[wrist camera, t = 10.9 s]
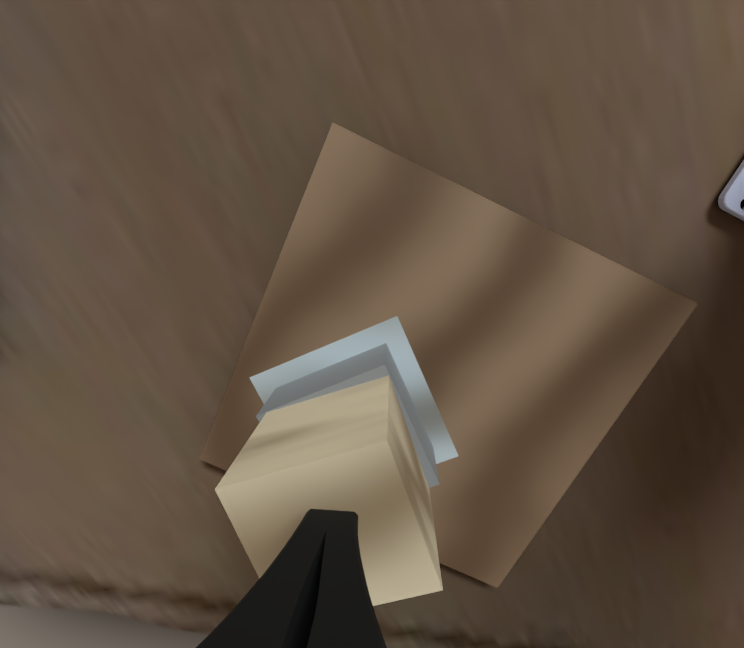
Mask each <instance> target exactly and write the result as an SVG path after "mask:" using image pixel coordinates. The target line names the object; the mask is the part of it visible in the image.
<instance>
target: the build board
mask: <svg viewBox="0 0 744 648" xmlns="http://www.w3.org/2000/svg"><path fill="white" fill-rule="evenodd" d="M697 305H698V303H696V302H694V301H692V300H690V299H688V298H686V297H684V296H682V295H680V294H678V293H676V292H674V291H672V290H670V289H668V288H666V287H664V286H662V285H660V284H658V283H656V282H654V281H652V280H650V279H648V278H646V277H644V276H642V275H640V274H638V273H636V272H634V271H632V270H629V269H627V268H625V267H623V266H621V265H619V264H617V263H615V262H613V261H611V260H609V259H607V258H605V257H603V256H601V255H599V254H597V253H595V252H593V251H591V250H589V249H587V248H585V247H583V246H581V245H579V244H577V243H575V242H573V241H571V240H569V239H567V238H565V237H563V236H561V235H559V234H557V233H555V232H553V231H551V230H549V229H547V228H545V227H543V226H541V225H539V224H537V223H535V222H533V221H531V220H529V219H527V218H525V217H522V216H520V215H518V214H516V213H514V212H512V211H510V210H508V209H506V208H504V207H502V206H500V205H498V204H496V203H494V202H492V201H490V200H488V199H486V198H484V197H482V196H480V195H478V194H476V193H474V192H472V191H470V190H468V189H466V188H464V187H462V186H460V185H458V184H456V183H454V182H452V181H450V180H448V179H446V178H444V177H442V176H440V175H438V174H436V173H434V172H432V171H430V170H428V169H426V168H424V167H422V166H420V165H418V164H415V163H413V162H411V161H409V160H407V159H405V158H403V157H401V156H399V155H397V154H395V153H393V152H391V151H389V150H387V149H385V148H383V147H381V146H379V145H377V144H375V143H373V142H371V141H369V140H367V139H365V138H363V137H361V136H359V135H357V134H355V133H353V132H351V131H349V130H347V129H345V128H343V127H341V126H339V125H337V124H335V123H332V126H331V128H330V131H329V133H328V136H327V138H326V141H325V143H324V146H323V148H322V151H321V153H320V156H319V158H318V161H317V163H316V166H315V168H314V171H313V173H312V176H311V178H310V181H309V183H308V186H307V188H306V191H305V193H304V196H303V198H302V201H301V203H300V206H299V208H298V211H297V213H296V216H295V218H294V221H293V223H292V226H291V228H290V231H289V233H288V236H287V238H286V241H285V243H284V246H283V248H282V251H281V253H280V256H279V258H278V261H277V263H276V266H275V269H274V271H273V274H272V276H271V279H270V281H269V284H268V286H267V289H266V291H265V294H264V296H263V299H262V301H261V304H260V306H259V309H258V311H257V314H256V316H255V319H254V321H253V324H252V326H251V329H250V331H249V334H248V336H247V339H246V341H245V344H244V346H243V349H242V351H241V354H240V356H239V359H238V361H237V364H236V366H235V369H234V371H233V374H232V376H231V379H230V381H229V384H228V386H227V389H226V391H225V394H224V396H223V399H222V401H221V404H220V406H219V409H218V411H217V414H216V417H215V419H214V422H213V424H212V427H211V429H210V432H209V434H208V437H207V439H206V442H205V444H204V447H203V449H202V452H201V454H200V457H199V459H200V460H202V461H204V462H207V463H209V464H211V465H214V466H216V467H218V468H221V469H223V470H225V471H227V470H228V469H229V467H230V466H231V464H232V463H233V462H234V460H235V459H236V457H237V456H238V454H239V453H240V451H241V450H242V448H243V447H244V445H245V444H246V442H247V441H248V439H249V438H250V436H251V435H252V433H253V432H254V430H255V429H256V427H257V426H258V424H259V421H258V419H257V417H256V415H257V414H258V412H259V411H260V410H261V408H262V407H263V405H264V404H265V403H266V401H267V400H268V398H269V397H270V396H271V394H272V393H273V391H274V390H275V389H276V388H277V387H279V386H282V385H284V384H287V383H289V382H292V381H294V380H296V379H299V378H301V377H304V376H306V375H309V374H311V373H314V372H316V371H318V370H321V369H323V368H326V367H328V366H331V365H333V364H336V363H338V362H340V361H343V360H345V359H348V358H350V357H353V356H355V355H358V354H360V353H363V352H365V351H367V350H370V349H372V348H375V347H377V346H380V345H382V344H385V343H386V344H387V346H388V348H389V350H390V353H391V355H392V357H393V359H394V361H395V364H396V366H397V368H398V370H399V372H400V375H401V377H402V379H403V381H404V384H405V386H406V388H407V390H408V392H409V395H410V397H411V399H412V401H413V403H414V406H415V408H416V410H417V412H418V414H419V417H420V419H421V421H422V423H423V425H424V428H425V430H426V432H427V434H428V437H429V439H430V441H431V443H432V445H433V449H434V455H435V460H436V466H437V472H438V477H439V483H440V484H439V485H436V486H433V487H430V488H429V491H430V498H431V506H432V513H433V521H434V528H435V535H436V543H437V550H438V558H439V563H441V564H443V565H445V566H448V567H450V568H452V569H455V570H457V571H459V572H462V573H464V574H466V575H469V576H471V577H473V578H475V579H478V580H480V581H482V582H485V583H487V584H489V585H492V586H494V587H496V588H498V587H499V585H500V584H501V582H502V581H503V580H504V578H505V577H506V575H507V574H508V572H509V571H510V570H511V568H512V567H513V565H514V564H515V563H516V561H517V560H518V558H519V557H520V555H521V554H522V553H523V551H524V550H525V548H526V547H527V545H528V544H529V543H530V541H531V540H532V538H533V537H534V536H535V534H536V533H537V531H538V530H539V528H540V527H541V526H542V524H543V523H544V521H545V520H546V519H547V517H548V516H549V514H550V513H551V511H552V510H553V509H554V507H555V506H556V504H557V503H558V502H559V500H560V499H561V497H562V496H563V494H564V493H565V492H566V490H567V489H568V487H569V486H570V485H571V483H572V482H573V480H574V479H575V477H576V476H577V475H578V473H579V472H580V470H581V469H582V468H583V466H584V465H585V463H586V462H587V460H588V459H589V458H590V456H591V455H592V453H593V452H594V451H595V449H596V448H597V446H598V445H599V443H600V442H601V441H602V439H603V438H604V436H605V435H606V434H607V432H608V431H609V429H610V428H611V426H612V425H613V424H614V422H615V421H616V419H617V418H618V416H619V415H620V414H621V412H622V411H623V409H624V408H625V407H626V405H627V404H628V402H629V401H630V399H631V398H632V397H633V395H634V394H635V392H636V391H637V390H638V388H639V387H640V385H641V384H642V382H643V381H644V380H645V378H646V377H647V375H648V374H649V373H650V371H651V370H652V368H653V367H654V365H655V364H656V363H657V361H658V360H659V358H660V357H661V356H662V354H663V353H664V351H665V350H666V348H667V347H668V346H669V344H670V343H671V341H672V340H673V339H674V337H675V336H676V334H677V333H678V331H679V330H680V329H681V327H682V326H683V324H684V323H685V322H686V320H687V319H688V317H689V316H690V314H691V313H692V312H693V310H694V309H695V307H696V306H697Z"/></svg>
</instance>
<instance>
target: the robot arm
mask: <svg viewBox="0 0 744 648" xmlns="http://www.w3.org/2000/svg"><path fill="white" fill-rule="evenodd" d="M743 199H744V160H743V161H742V163H741V164H740V166H739V167H738V169H737V170H736V172H735V173H734V175H733V176H732V178H731V179H730V181H729V182H728V184H727V185H726V187H725V188H724V190H723V191H722V193H721V194H720V196H719V198H718V205H719V207H720V208H721V209H722V210H723V211H725V212H727V213H729V214H731V215H733V216H735V217H737V218H739V219H741V220H743V221H744V208H743V209H741V208H740V203H741V201H742V200H743ZM196 648H387V647H386V645H385V642H384V639H383V636H382V634H381V631H380V628H379V625H378V621H377V618H376V615H375V612H374V608H373V605H372V602H371V598H370V595H369V591H368V587H367V583H366V578H365V574H364V569H363V565H362V560H361V555H360V548H359V541H358V515H357V514H356V513H355V512H353V511H338V510H323V509H310V510H309V511H307V512H306V514H305V516H304V517H303V519H302V521H301V522H300V524H299V525H298V527H297V529H296V530H295V532H294V533H293V535H292V536H291V537H290V539H289V540H288V542H287V543H286V545H285V546H284V547H283V549H282V550H281V551H280V553H279V554H278V555H277V557H276V558H275V560H274V561H273V562H272V564H271V565H270V566H269V568H268V569H267V570H266V571H265V573H264V574H263V575H262V576H261V578H260V579H259V580H258V581H257V582H256V584H255V585H254V586H253V587H252V588H251V590H250V591H249V592H248V593H247V594H246V596H245V597H244V598H243V599H242V600H241V601H240V602H239V604H238V605H237V606H236V607H235V608H234V609H233V610H232V611H231V612H230V614H229V615H228V616H227V617H226V618H225V619H224V620H223V621H222V622H221V623H220V624H219V625H218V626H217V627H216V628H215V629H214V630H213V631H212V632H211V633H210V634H209V635H208V636H207V638H205V639H204V640H203V641H202V642H201V643H200V644H199V645H198V646H197V647H196Z"/></svg>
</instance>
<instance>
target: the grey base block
mask: <svg viewBox="0 0 744 648" xmlns="http://www.w3.org/2000/svg"><path fill="white" fill-rule="evenodd" d="M385 376H389V377H390V379H391V382H392V385H393V388H394V391H395V394H396V396H397V399H398V402H399V405H400V408H401V410H402V413H403V416H404V419H405V422H406V424H407V427H408V430H409V433H410V436H411V438H412V441H413V444H414V447H415V450H416V452H417V455H418V458H419V461H420V464H421V466H422V469H423V472H424V475H425V478H426V480H427V483H428V486H429V488H430V487H433V486H436V485H439V484H440V483H439V477H438V472H437V466H436V460H435V455H434V449H433V445H432V443H431V441H430V439H429V437H428V434H427V432H426V430H425V428H424V425H423V423H422V421H421V419H420V417H419V414H418V412H417V410H416V408H415V406H414V403H413V401H412V399H411V397H410V395H409V392H408V390H407V388H406V386H405V384H404V381H403V379H402V377H401V375H400V372H399V370H398V368H397V366H396V364H395V361H394V359H393V357H392V355H391V353H390V350H389V348H388V346H387V344H386V343H385V344H382V345H380V346H377V347H375V348H372V349H370V350H367V351H365V352H363V353H360V354H358V355H355V356H353V357H350V358H348V359H345V360H343V361H340V362H338V363H336V364H333V365H331V366H328V367H326V368H323V369H321V370H318V371H316V372H314V373H311V374H309V375H306V376H304V377H301V378H299V379H296V380H294V381H292V382H289V383H287V384H284V385H282V386H279V387H277V388H276V389H275V390H274V391H273V393H272V394H271V396H270V397H269V398H268V400H267V401H266V403H265V404H264V405H263V407H262V408H261V410H260V411H259V412H258V414H257V415H256V417H257V419H258V421H259V423H260V421H261V420H262V418H263V417H264V415H265V414H266V413H267V412H270V411H274V410H277V409H280V408H283V407H287V406H290V405H293V404H297V403H300V402H303V401H306V400H310V399H313V398H316V397H320V396H323V395H326V394H329V393H333V392H336V391H339V390H343V389H346V388H349V387H352V386H356V385H359V384H362V383H366V382H369V381H372V380H375V379H379V378H382V377H385Z"/></svg>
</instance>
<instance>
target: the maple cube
mask: <svg viewBox="0 0 744 648" xmlns="http://www.w3.org/2000/svg"><path fill="white" fill-rule="evenodd" d="M215 491H216V493H217V495H218V497H219V499H220V501H221V503H222V505H223V507H224V509H225V511H226V513H227V515H228V517H229V519H230V521H231V523H232V525H233V527H234V529H235V531H236V533H237V535H238V537H239V539H240V541H241V543H242V545H243V547H244V549H245V551H246V553H247V555H248V557H249V559H250V561H251V563H252V565H253V567H254V569H255V571H256V573H257V575H258V577H259V579H260V578H261V576H262V575H263V574H264V573H265V571H266V570H267V569H268V568H269V566H270V565H271V564H272V562H273V561H274V560H275V558H276V557H277V555H278V554H279V553H280V551H281V550H282V549H283V547H284V546H285V545H286V543H287V542H288V540H289V539H290V537H291V536H292V535H293V533H294V532H295V530H296V529H297V527H298V525H299V524H300V522H301V521H302V519H303V517H304V516H305V514H306V512H307V511H309V510H310V509H323V510H338V511H353V512H355V513H356V514H357V515H358V541H359V548H360V555H361V560H362V565H363V569H364V574H365V578H366V583H367V587H368V591H369V595H370V598H371V602H372V605H373V606H375V605H380V604H384V603H389V602H393V601H397V600H402V599H406V598H411V597H415V596H420V595H424V594H428V593H433V592H437V591H442V590H443V587H442V580H441V573H440V565H439V558H438V550H437V543H436V535H435V528H434V521H433V513H432V506H431V498H430V491H429V486H428V483H427V480H426V478H425V475H424V472H423V469H422V466H421V464H420V461H419V458H418V455H417V452H416V450H415V447H414V444H413V441H412V438H411V436H410V433H409V430H408V427H407V424H406V422H405V419H404V416H403V413H402V410H401V408H400V405H399V402H398V399H397V396H396V394H395V391H394V388H393V385H392V382H391V379H390V377H389V376H385V377H382V378H379V379H375V380H372V381H369V382H366V383H362V384H359V385H356V386H352V387H349V388H346V389H343V390H339V391H336V392H333V393H329V394H326V395H323V396H320V397H316V398H313V399H310V400H306V401H303V402H300V403H297V404H293V405H290V406H287V407H283V408H280V409H277V410H274V411H270V412H267V413H266V414H265V415H264V417H263V418H262V420H261V421H260V423H259V424H258V426H257V427H256V429H255V430H254V432H253V433H252V435H251V436H250V438H249V439H248V441H247V442H246V444H245V445H244V447H243V448H242V450H241V451H240V453H239V454H238V456H237V457H236V459H235V460H234V462H233V463H232V464H231V466H230V467H229V469H228V470H227V472H226V473H225V475H224V476H223V478H222V479H221V481H220V482H219V484H218V485H217V487H216V488H215Z"/></svg>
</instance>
